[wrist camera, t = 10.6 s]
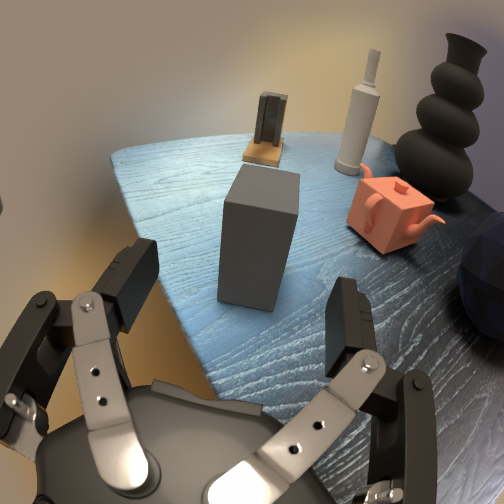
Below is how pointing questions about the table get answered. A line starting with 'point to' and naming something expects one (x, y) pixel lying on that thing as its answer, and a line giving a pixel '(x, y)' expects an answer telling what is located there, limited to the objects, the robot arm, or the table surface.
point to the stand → (267, 130)
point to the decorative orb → (484, 276)
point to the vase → (445, 125)
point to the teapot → (389, 212)
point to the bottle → (359, 119)
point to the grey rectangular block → (257, 235)
